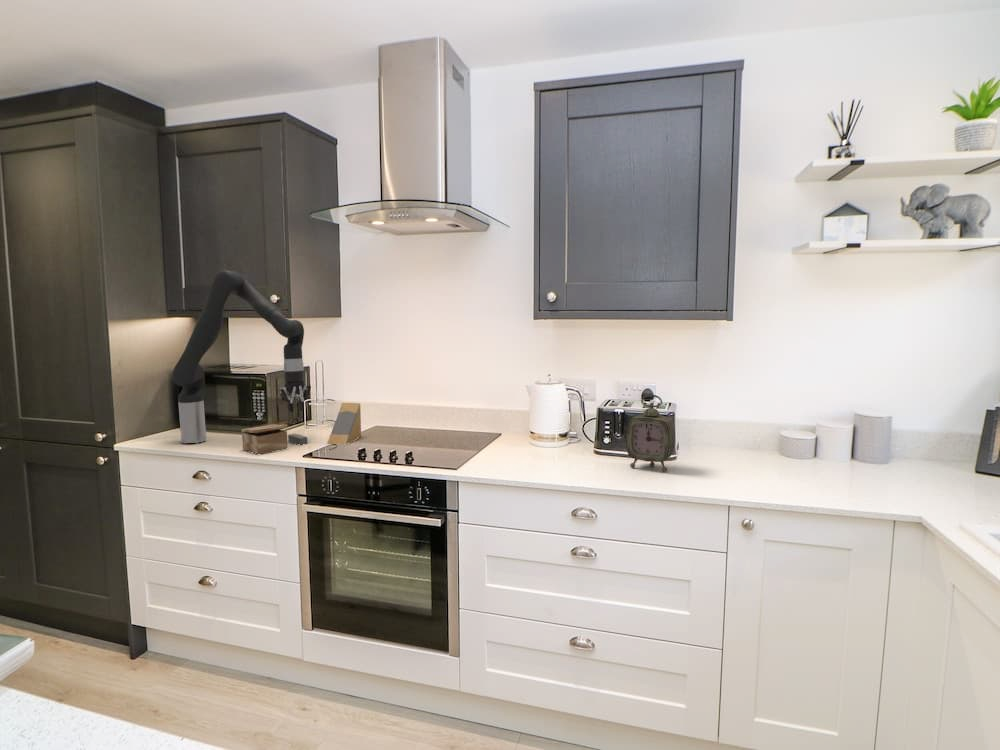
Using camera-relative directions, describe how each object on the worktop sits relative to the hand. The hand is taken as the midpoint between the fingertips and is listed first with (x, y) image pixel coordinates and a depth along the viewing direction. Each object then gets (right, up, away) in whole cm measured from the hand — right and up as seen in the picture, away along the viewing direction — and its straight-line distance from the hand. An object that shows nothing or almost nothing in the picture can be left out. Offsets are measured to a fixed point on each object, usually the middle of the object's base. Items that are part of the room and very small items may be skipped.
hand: (296, 411), depth 234 cm
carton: (-9, -15, -9) cm, 19 cm away
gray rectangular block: (0, -13, +2) cm, 13 cm away
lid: (-9, -7, -10) cm, 15 cm away
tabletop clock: (+134, -17, -42) cm, 141 cm away
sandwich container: (+19, -13, +4) cm, 23 cm away
